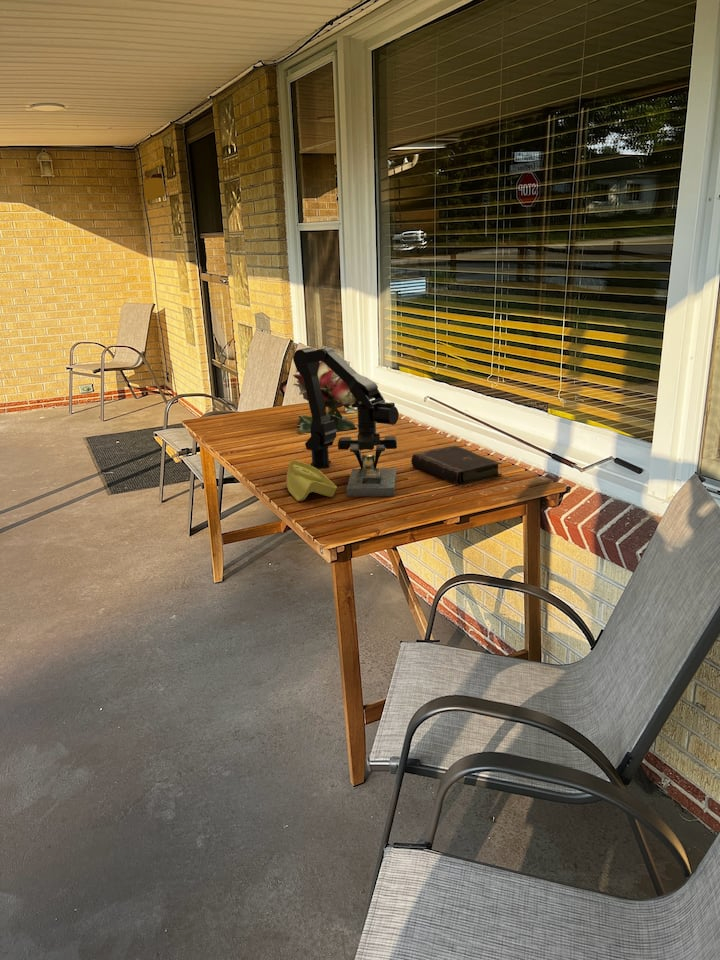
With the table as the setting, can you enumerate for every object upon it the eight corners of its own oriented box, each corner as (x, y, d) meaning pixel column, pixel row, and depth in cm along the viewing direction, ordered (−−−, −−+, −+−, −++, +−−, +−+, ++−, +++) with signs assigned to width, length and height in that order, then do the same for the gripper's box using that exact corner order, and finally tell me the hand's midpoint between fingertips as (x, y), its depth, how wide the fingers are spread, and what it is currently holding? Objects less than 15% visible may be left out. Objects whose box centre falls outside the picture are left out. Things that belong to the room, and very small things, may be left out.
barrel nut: (363, 471, 238) (362, 453, 236) (375, 471, 237) (374, 453, 236) (362, 475, 234) (361, 457, 232) (374, 474, 234) (373, 457, 232)
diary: (455, 487, 220) (456, 471, 218) (411, 468, 241) (411, 453, 239) (504, 476, 228) (504, 461, 227) (457, 458, 249) (457, 444, 248)
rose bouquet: (370, 428, 295) (367, 354, 286) (300, 436, 286) (296, 360, 277) (349, 415, 318) (346, 346, 309) (284, 423, 309) (279, 352, 300)
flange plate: (352, 476, 233) (352, 468, 232) (396, 475, 232) (396, 467, 231) (346, 496, 214) (346, 487, 213) (394, 496, 213) (394, 487, 212)
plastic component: (339, 489, 214) (309, 479, 209) (329, 512, 215) (299, 503, 210) (316, 466, 231) (287, 457, 226) (307, 488, 232) (278, 479, 228)
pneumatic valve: (364, 412, 323) (363, 386, 319) (338, 414, 320) (337, 388, 317) (362, 410, 328) (361, 384, 324) (336, 412, 326) (335, 385, 322)
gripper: (335, 428, 224) (337, 476, 228) (395, 427, 222) (396, 475, 227) (338, 419, 234) (340, 466, 239) (396, 418, 233) (397, 465, 237)
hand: (368, 468), depth 235 cm, fingers closed on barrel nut, 4 cm apart
